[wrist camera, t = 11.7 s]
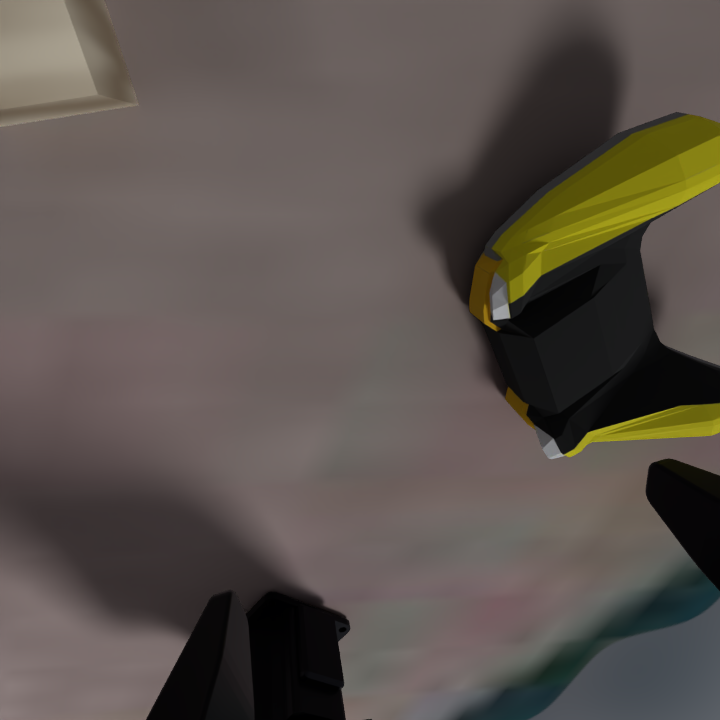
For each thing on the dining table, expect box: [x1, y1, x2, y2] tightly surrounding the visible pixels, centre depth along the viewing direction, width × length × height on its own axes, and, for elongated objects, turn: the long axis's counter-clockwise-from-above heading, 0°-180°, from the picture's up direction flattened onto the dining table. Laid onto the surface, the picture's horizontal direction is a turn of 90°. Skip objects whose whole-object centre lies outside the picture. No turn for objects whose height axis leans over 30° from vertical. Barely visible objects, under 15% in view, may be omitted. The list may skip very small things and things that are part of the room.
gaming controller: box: [469, 112, 720, 459], centre depth 20 cm, size 15×6×10 cm
